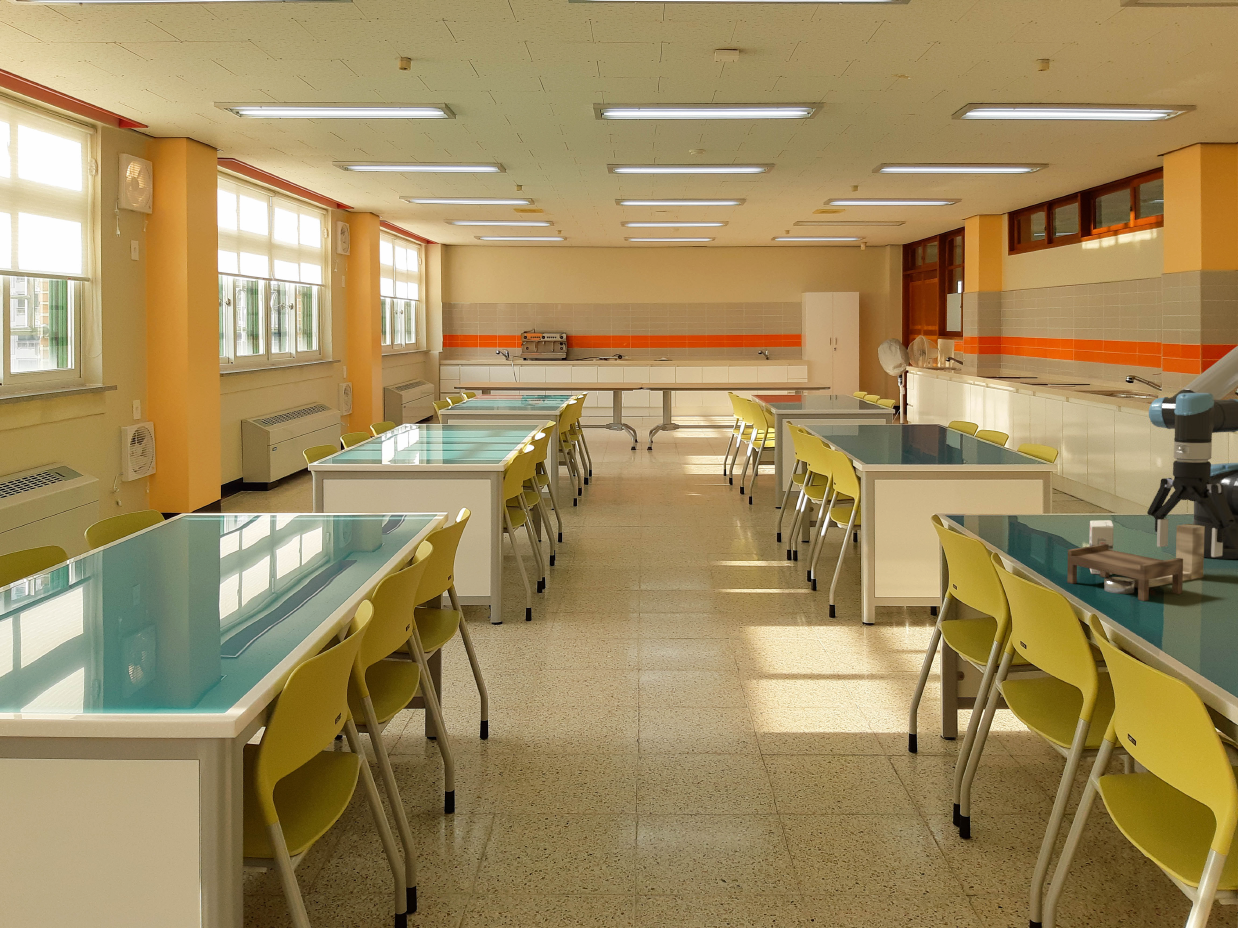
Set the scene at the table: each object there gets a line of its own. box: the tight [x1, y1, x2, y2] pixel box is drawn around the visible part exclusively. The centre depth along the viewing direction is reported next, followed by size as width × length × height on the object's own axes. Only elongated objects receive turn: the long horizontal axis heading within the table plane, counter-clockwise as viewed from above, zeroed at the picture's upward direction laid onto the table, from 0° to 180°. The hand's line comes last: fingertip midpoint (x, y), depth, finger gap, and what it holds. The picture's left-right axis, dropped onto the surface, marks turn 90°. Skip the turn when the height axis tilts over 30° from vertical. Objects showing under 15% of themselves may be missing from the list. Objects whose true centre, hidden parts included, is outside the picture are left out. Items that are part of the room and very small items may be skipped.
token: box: [1103, 576, 1135, 595], centre depth 221 cm, size 6×6×2 cm
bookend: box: [1130, 523, 1205, 589], centre depth 227 cm, size 20×4×12 cm, turn 114°
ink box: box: [1088, 519, 1114, 576], centre depth 239 cm, size 9×5×12 cm, turn 158°
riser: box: [1067, 544, 1184, 602], centre depth 223 cm, size 12×20×8 cm, turn 24°
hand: (1188, 551), depth 230 cm, fingers open, 13 cm apart
